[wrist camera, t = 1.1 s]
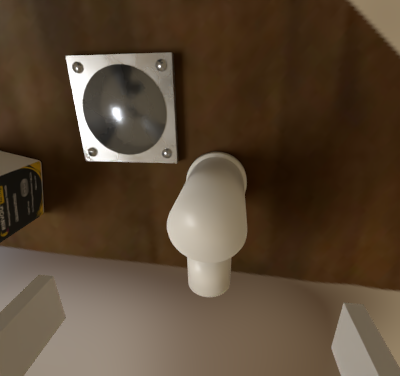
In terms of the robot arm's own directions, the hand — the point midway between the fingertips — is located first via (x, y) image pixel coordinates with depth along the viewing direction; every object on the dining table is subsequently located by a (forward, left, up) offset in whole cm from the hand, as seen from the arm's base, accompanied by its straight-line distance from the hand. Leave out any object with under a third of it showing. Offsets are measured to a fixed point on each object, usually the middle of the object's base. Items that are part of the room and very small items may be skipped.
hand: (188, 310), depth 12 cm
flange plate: (-7, -9, -16) cm, 20 cm away
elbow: (+1, 0, -17) cm, 17 cm away
